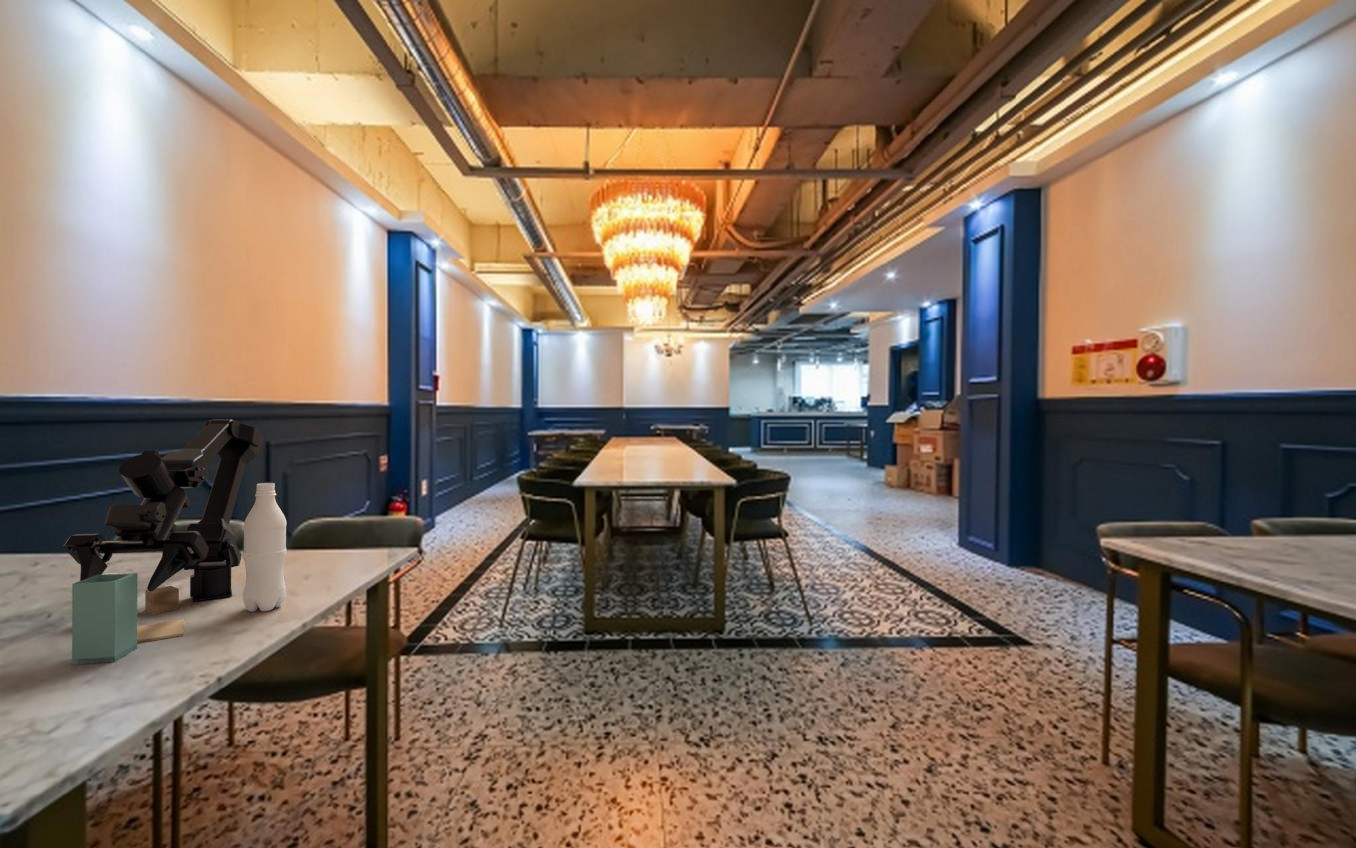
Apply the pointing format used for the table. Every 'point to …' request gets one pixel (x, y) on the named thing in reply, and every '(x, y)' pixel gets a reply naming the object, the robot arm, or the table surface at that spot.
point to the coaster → (160, 630)
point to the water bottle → (264, 552)
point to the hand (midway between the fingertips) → (116, 591)
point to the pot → (104, 618)
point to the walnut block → (162, 599)
